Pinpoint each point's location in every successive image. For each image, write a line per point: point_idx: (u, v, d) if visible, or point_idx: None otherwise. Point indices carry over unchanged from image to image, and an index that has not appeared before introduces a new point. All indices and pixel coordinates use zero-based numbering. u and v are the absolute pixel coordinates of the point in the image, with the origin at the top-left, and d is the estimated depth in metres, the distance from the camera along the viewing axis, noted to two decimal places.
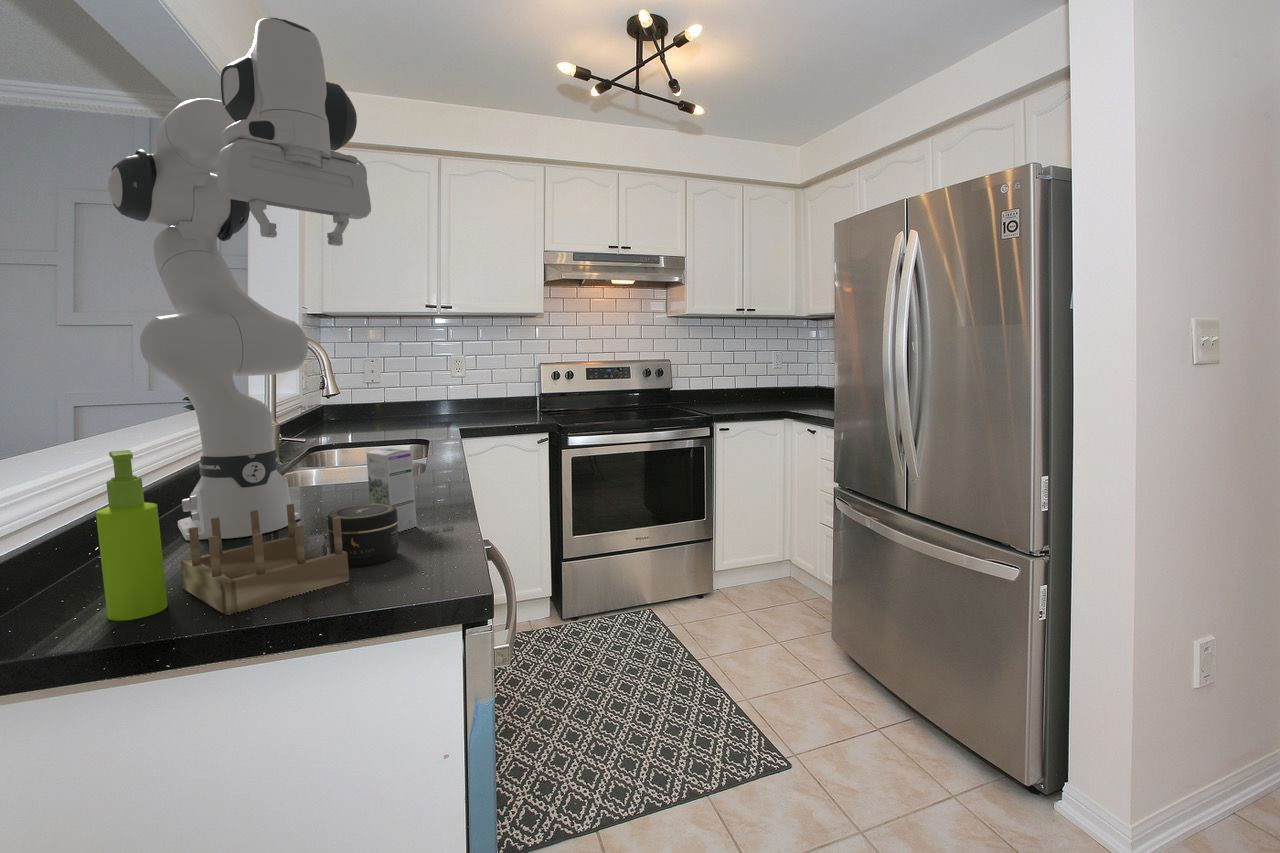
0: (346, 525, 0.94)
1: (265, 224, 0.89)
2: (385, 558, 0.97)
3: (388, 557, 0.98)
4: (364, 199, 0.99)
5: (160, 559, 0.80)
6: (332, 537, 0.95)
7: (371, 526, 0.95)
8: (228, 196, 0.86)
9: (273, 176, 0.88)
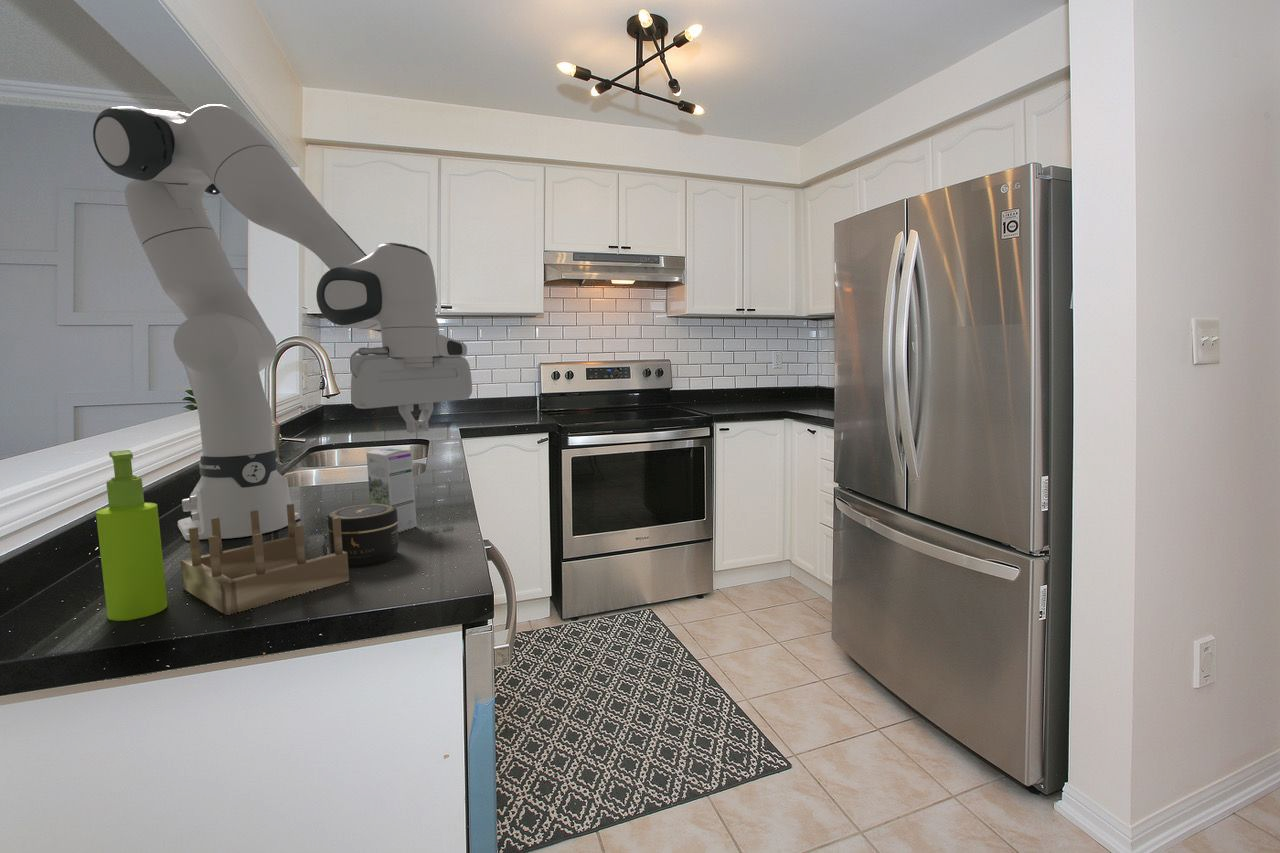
0: (346, 525, 0.94)
1: None
2: (385, 558, 0.97)
3: (388, 557, 0.98)
4: None
5: (160, 559, 0.80)
6: (332, 537, 0.95)
7: (371, 526, 0.95)
8: None
9: None
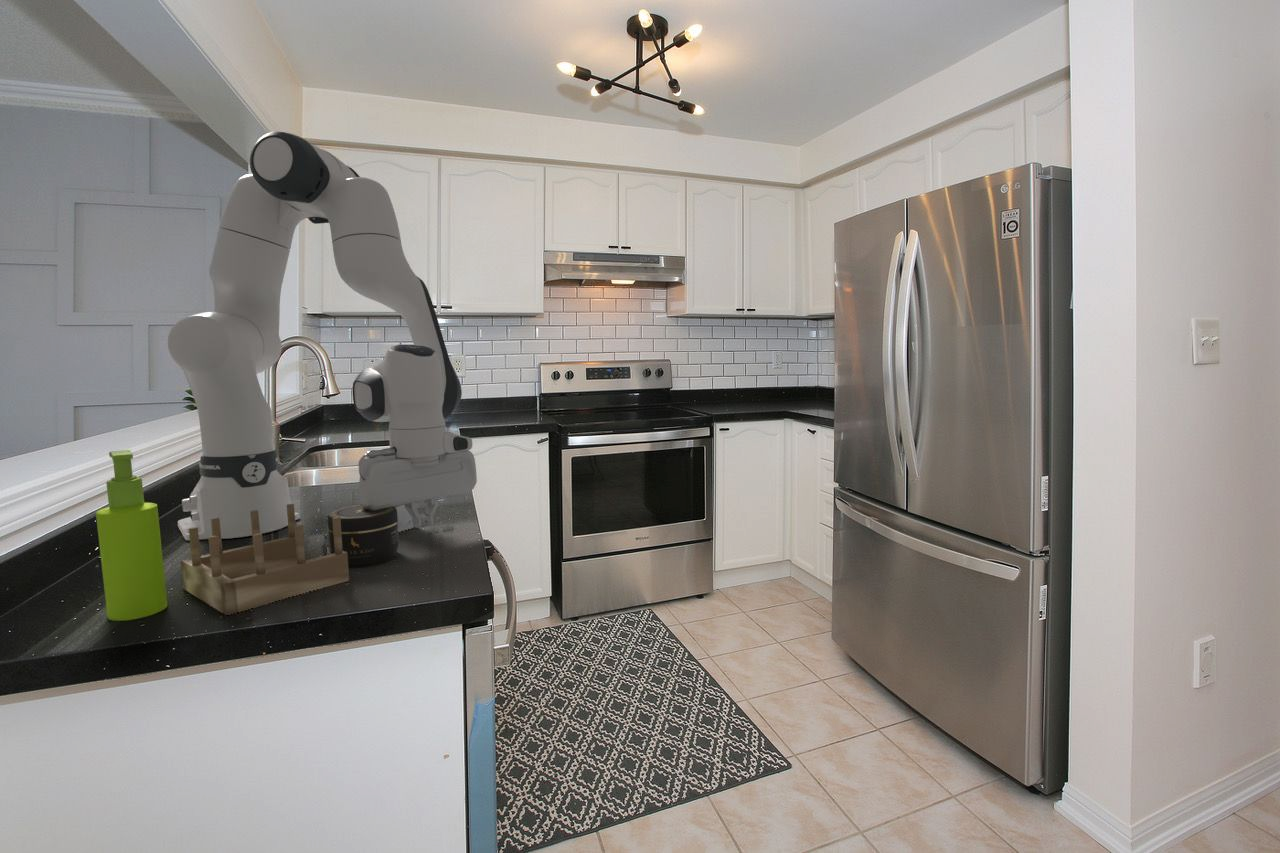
0: (346, 525, 0.94)
1: None
2: (385, 558, 0.97)
3: (388, 557, 0.98)
4: None
5: (160, 559, 0.80)
6: (332, 537, 0.95)
7: (371, 526, 0.95)
8: None
9: None
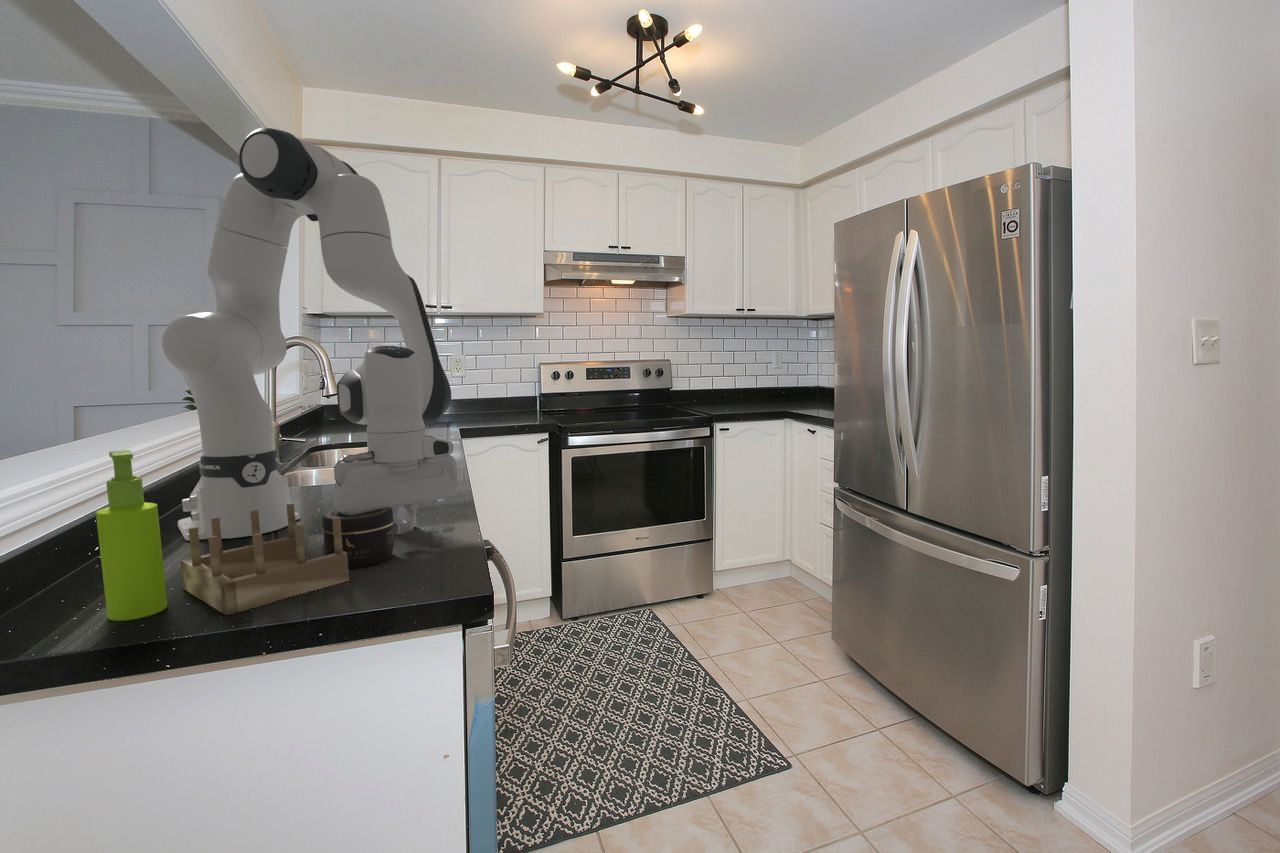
0: (341, 526, 0.93)
1: None
2: (380, 559, 0.96)
3: (383, 558, 0.97)
4: None
5: (160, 559, 0.80)
6: (327, 538, 0.94)
7: (366, 527, 0.94)
8: None
9: None
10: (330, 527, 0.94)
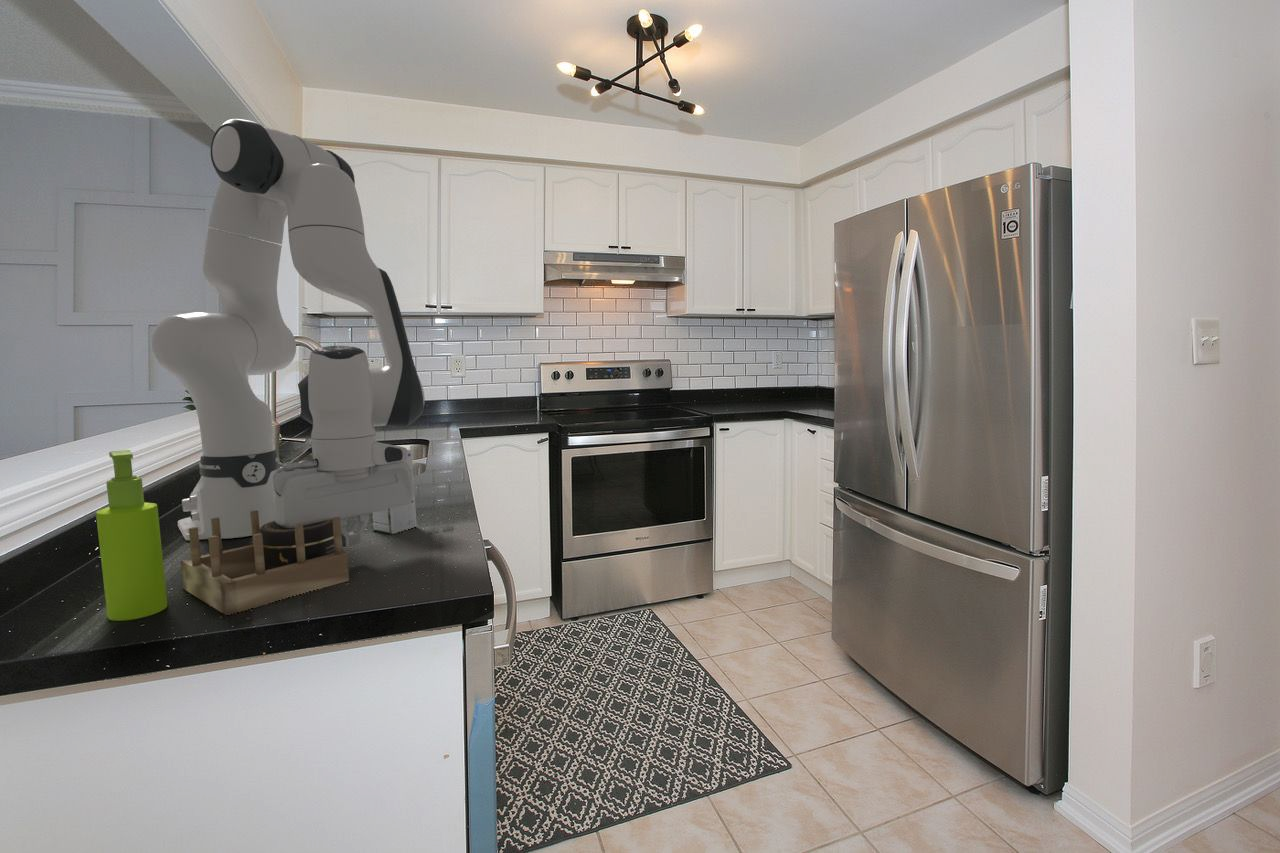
0: (274, 539, 0.87)
1: None
2: None
3: None
4: None
5: (160, 559, 0.80)
6: None
7: None
8: None
9: None
10: (264, 540, 0.88)
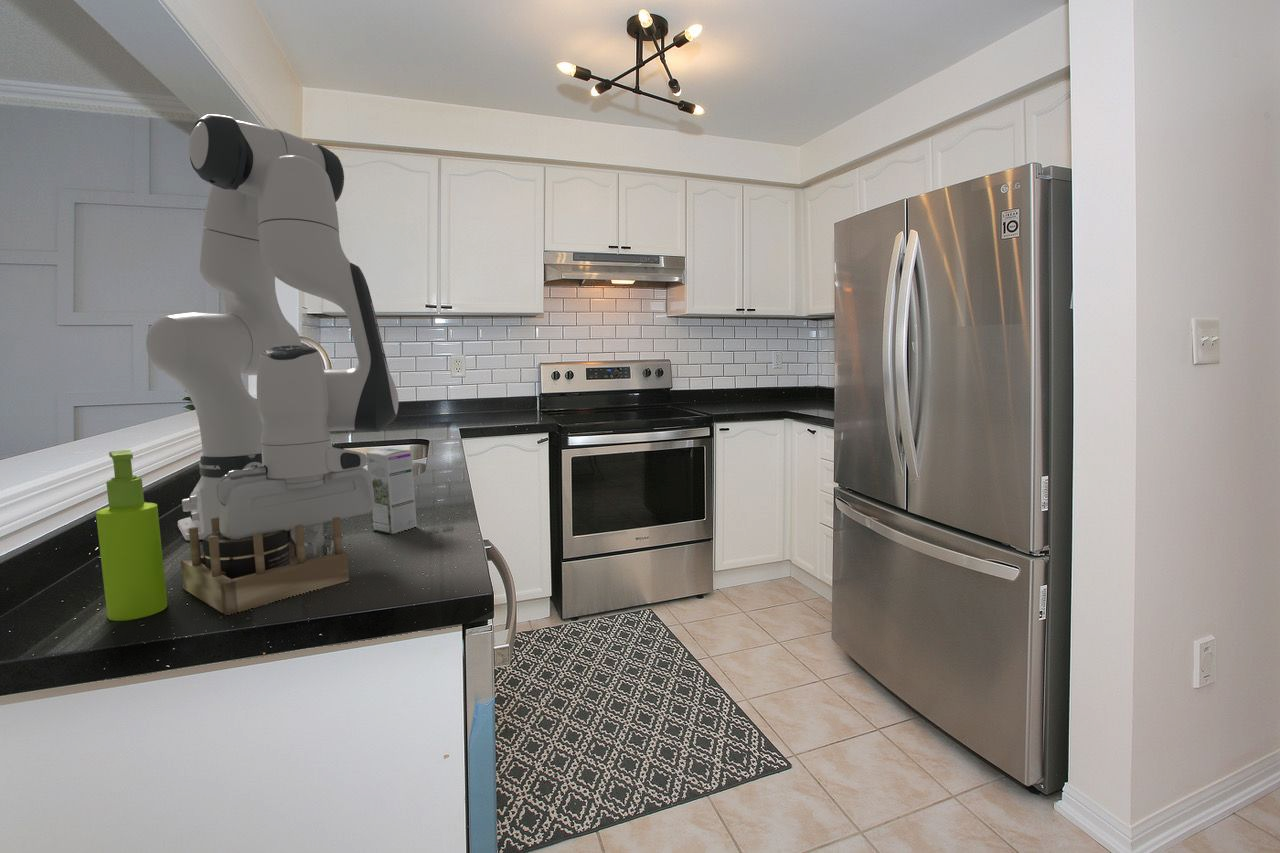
0: None
1: None
2: None
3: None
4: None
5: (160, 559, 0.80)
6: (205, 561, 0.84)
7: (239, 552, 0.82)
8: None
9: None
10: (204, 550, 0.83)
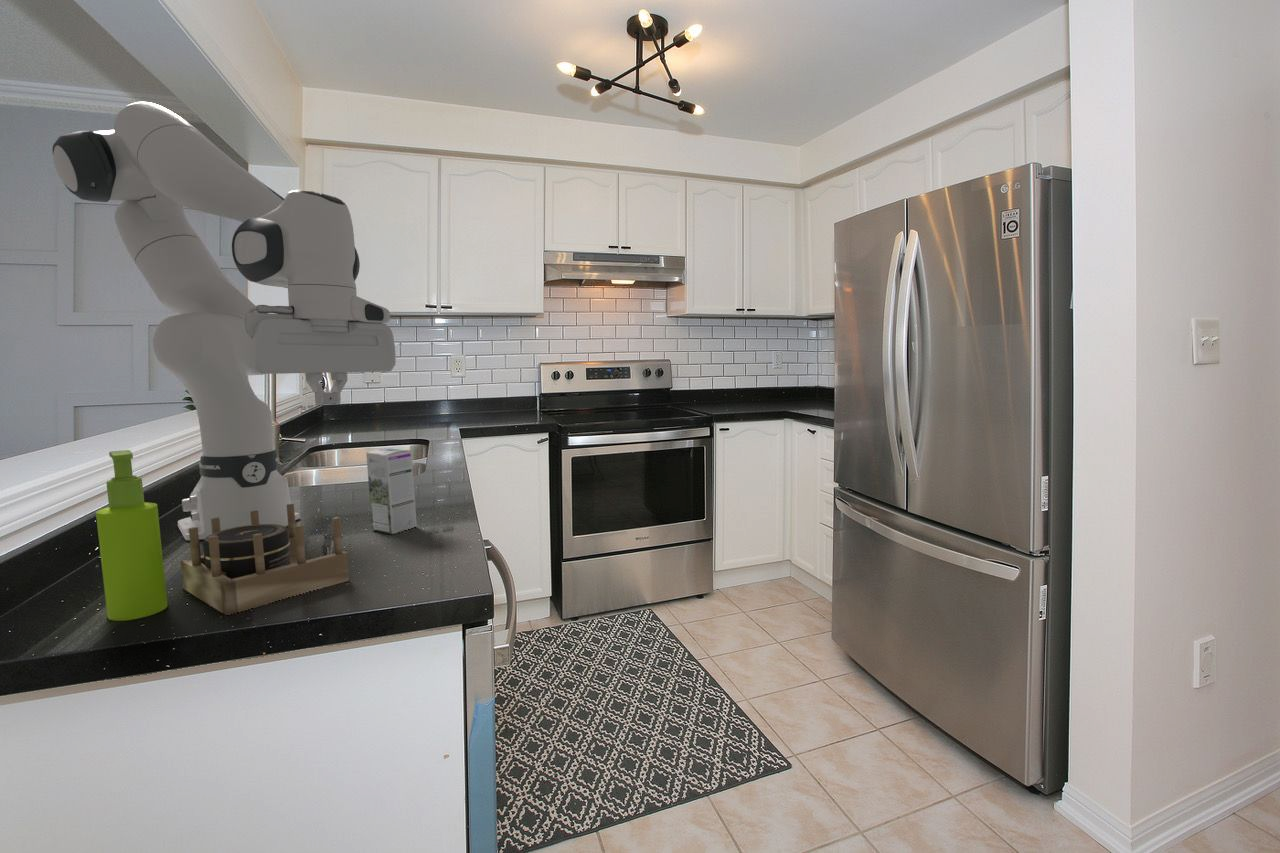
0: None
1: None
2: None
3: None
4: None
5: (160, 559, 0.80)
6: (205, 562, 0.84)
7: (240, 553, 0.82)
8: None
9: None
10: (205, 550, 0.83)
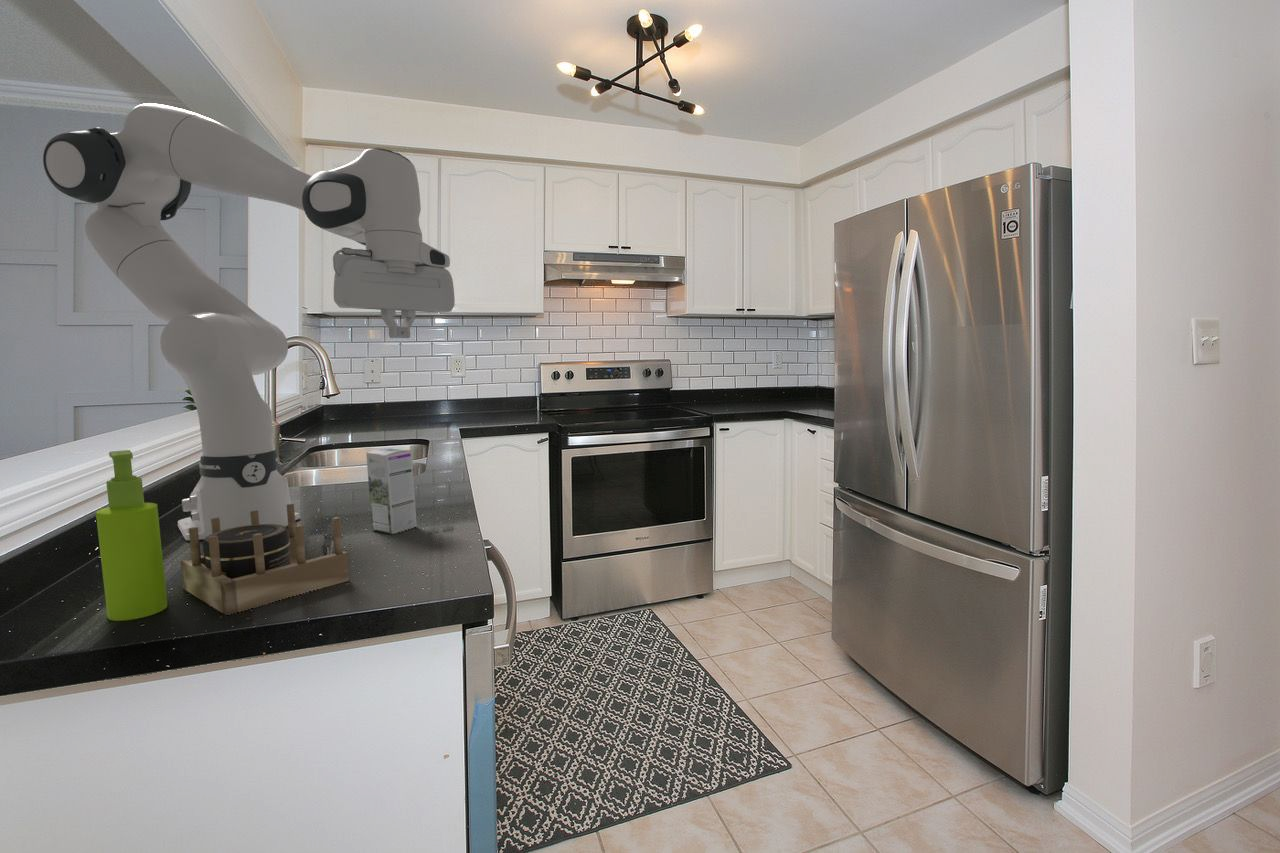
0: None
1: None
2: None
3: None
4: None
5: (160, 559, 0.80)
6: (205, 562, 0.84)
7: (239, 553, 0.82)
8: None
9: None
10: (205, 551, 0.83)
